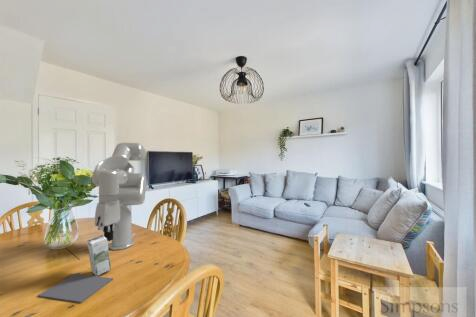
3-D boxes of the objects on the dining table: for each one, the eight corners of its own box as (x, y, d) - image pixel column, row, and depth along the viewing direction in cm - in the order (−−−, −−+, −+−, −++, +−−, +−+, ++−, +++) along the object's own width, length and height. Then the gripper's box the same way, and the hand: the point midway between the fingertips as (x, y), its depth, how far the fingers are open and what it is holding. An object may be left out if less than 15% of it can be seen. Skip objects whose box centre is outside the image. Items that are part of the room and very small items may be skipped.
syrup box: (106, 265, 93) (101, 234, 92) (111, 269, 89) (106, 237, 88) (91, 272, 89) (86, 239, 87) (96, 277, 85) (91, 243, 84)
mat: (75, 274, 87) (75, 273, 87) (113, 279, 84) (113, 278, 84) (37, 296, 73) (37, 295, 73) (81, 303, 70) (81, 301, 70)
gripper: (114, 195, 101) (113, 234, 100) (86, 201, 86) (86, 246, 86) (128, 196, 99) (127, 234, 99) (102, 201, 85) (102, 247, 84)
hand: (108, 240), depth 92 cm, fingers closed
